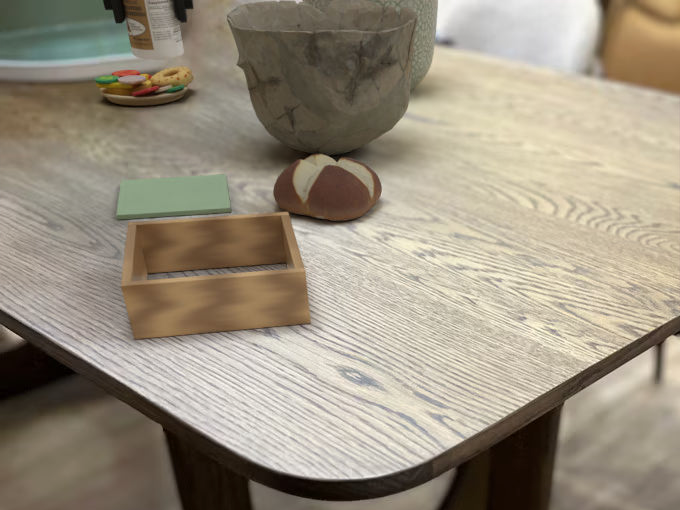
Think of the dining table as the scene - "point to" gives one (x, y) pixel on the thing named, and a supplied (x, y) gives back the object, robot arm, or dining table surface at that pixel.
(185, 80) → the toy food set
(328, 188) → the bread
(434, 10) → the planter
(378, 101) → the bowl
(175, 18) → the pill bottle
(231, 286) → the compartment
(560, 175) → the dining table surface
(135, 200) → the mat
